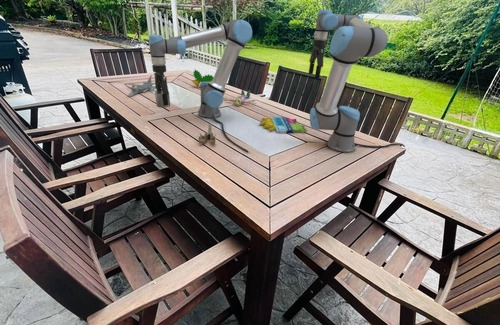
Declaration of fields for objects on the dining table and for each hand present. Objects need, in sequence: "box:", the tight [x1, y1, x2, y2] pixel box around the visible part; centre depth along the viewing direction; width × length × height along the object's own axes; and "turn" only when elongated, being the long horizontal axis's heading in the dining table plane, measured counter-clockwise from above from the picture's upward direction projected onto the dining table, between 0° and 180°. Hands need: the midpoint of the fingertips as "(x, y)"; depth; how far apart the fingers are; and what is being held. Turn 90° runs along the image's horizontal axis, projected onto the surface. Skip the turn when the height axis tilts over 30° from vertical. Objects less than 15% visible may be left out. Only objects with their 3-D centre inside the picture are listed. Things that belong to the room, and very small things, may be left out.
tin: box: [154, 90, 171, 109], centre depth 160 cm, size 8×8×8 cm
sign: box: [259, 116, 307, 134], centre depth 176 cm, size 26×2×30 cm
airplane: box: [126, 74, 156, 98], centre depth 227 cm, size 38×31×10 cm
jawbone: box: [198, 123, 217, 146], centre depth 145 cm, size 9×15×10 cm
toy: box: [223, 89, 257, 106], centre depth 219 cm, size 28×7×30 cm
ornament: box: [191, 69, 214, 89], centre depth 252 cm, size 21×8×15 cm, turn 105°
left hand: (163, 103), depth 161 cm, fingers closed on tin, 8 cm apart
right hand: (313, 76), depth 167 cm, fingers open, 13 cm apart
